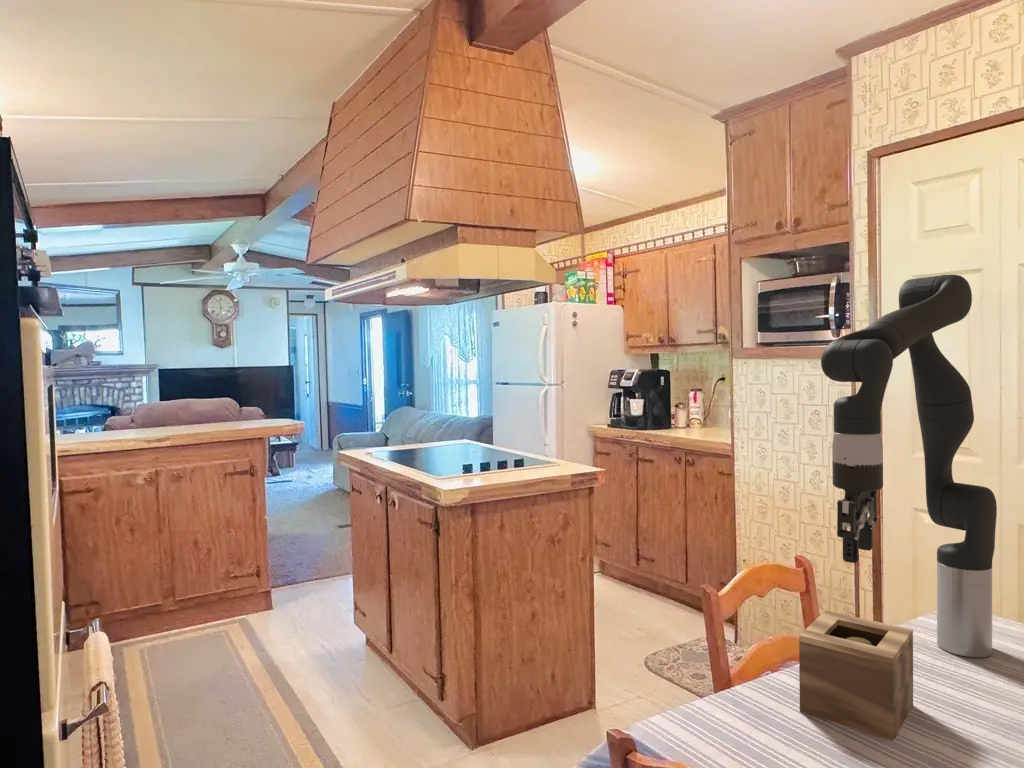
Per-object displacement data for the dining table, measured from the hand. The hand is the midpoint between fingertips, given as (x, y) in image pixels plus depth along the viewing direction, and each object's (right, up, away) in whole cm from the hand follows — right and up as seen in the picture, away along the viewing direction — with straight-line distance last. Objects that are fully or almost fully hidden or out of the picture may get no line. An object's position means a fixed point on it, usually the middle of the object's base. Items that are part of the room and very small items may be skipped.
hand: (858, 555), depth 113 cm
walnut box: (0, -26, +1) cm, 26 cm away
